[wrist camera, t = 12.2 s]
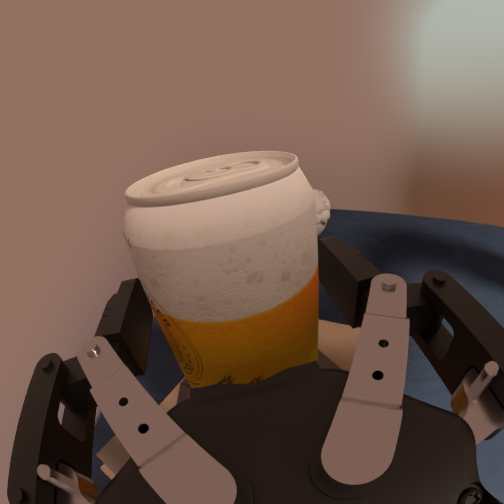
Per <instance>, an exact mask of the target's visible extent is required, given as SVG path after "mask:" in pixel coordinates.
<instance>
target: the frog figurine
mask: <svg viewBox="0 0 504 504" xmlns="http://www.w3.org/2000/svg"><path fill="white" fill-rule="evenodd" d="M313 191H314V194H315V204H316V221H317V236H318V235H320V234H321V233H322V231H323V230H324V228H325V226H326V225H327V219H329V217H330V213H329V212H330V202H329V200H328V199H327V197H326V196H325V195H324V194H323V192H322V191H318V190H316V189H313Z"/></svg>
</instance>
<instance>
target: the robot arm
mask: <svg viewBox="0 0 504 504" xmlns="http://www.w3.org/2000/svg"><path fill="white" fill-rule="evenodd" d="M317 243H318V277H319V280H320V282H321V284H322V285H323V286H324V288H325V289H326V291H327V292H328V294H329V295H330V296H331V298H332V299H333V301H334V302H335V304H336V305H337V307H338V308H339V309H340V311H341V312H342V314H343V315H344V317H345V318H346V320H347V321H348V323H349V324H350V326H351V327H352V329H354V328H357V327H360V326H362V327H361V331H360V335H359V339H358V343H357V347H356V351H355V355H354V358H353V362H352V365H351V369H350V372H349V371H346V370H341V369H334V368H322V369H320V367H319V365H318V363H317V360H316V361H312V362H309V363H306V364H302V365H299V366H295V367H291V368H288V369H285V370H283V371H281V372H279V373H277V374H275V375H273V376H271V377H269V378H267V379H264V380H262V381H260V382H258V383H254V384H216V385H210V386H204V387H197V388H191V389H190V398H189V399H186V400H184V401H182V402H180V403H179V404H177V405H175V406H174V407H173V408H171V409H170V410H169V411H168V412H167V413H165V412H164V410H163V409H162V408H161V407H160V406H159V405H158V404H157V403H156V402H155V400H154V399H153V398H152V397H151V396H150V395H149V394H148V392H147V391H146V390H145V389H144V388H143V386H142V385H141V384H140V383H139V382H138V380H137V379H136V378H135V377H136V376H137V375H145V374H146V365H147V357H148V349H149V342H150V335H151V329H152V322H153V312H152V308H151V305H150V303H149V300H148V298H147V296H146V293H145V291H144V289H143V286H142V284H141V281H140V280H139V279H138V278H135V279H130V280H126V281H122V283H121V285H120V288H119V290H118V293H117V294H114V295H113V296H112V297H111V298H110V300H109V301H108V302H107V304H106V307H105V311H104V312H103V315H102V318H101V320H100V323H99V325H98V328H97V331H96V334H95V337H92V338H90V339H88V340H86V341H85V342H84V343H83V344H82V345H81V346H80V347H79V349H78V352H77V356H76V357H74V358H71V359H68V360H66V361H63V360H62V359H61V358H60V356H59V355H58V354H56V353H50V354H47V355H45V356H44V357H43V358H41V360H40V361H39V362H38V363H37V365H36V367H35V370H34V373H33V376H32V379H31V381H30V384H29V387H28V391H27V394H26V397H25V400H24V404H23V407H22V411H21V415H20V419H19V422H18V427H17V431H16V435H15V440H14V446H13V450H12V456H11V463H10V470H9V478H8V488H7V489H8V490H7V495H8V500H9V503H10V504H503V503H501V502H500V501H499V500H497V499H496V498H495V497H493V496H492V495H491V494H490V493H489V492H488V491H487V490H486V489H485V488H484V487H483V485H482V484H481V482H480V479H479V474H478V469H477V460H476V446H477V445H478V444H479V443H481V442H482V441H483V440H489V439H491V438H493V437H494V436H495V435H496V434H497V433H499V432H500V431H501V430H502V429H503V428H504V328H503V327H502V326H501V325H500V324H499V323H498V322H497V321H496V320H495V319H494V317H493V316H492V315H491V314H490V313H489V312H488V311H487V310H486V309H485V308H484V307H483V306H482V305H481V304H480V303H479V302H478V301H477V300H476V299H475V298H474V297H473V296H472V295H471V294H469V293H468V292H467V291H466V290H465V289H464V288H463V287H462V286H461V285H460V284H459V283H458V282H457V281H456V280H454V279H453V278H452V277H451V276H450V275H449V274H447V273H445V272H442V271H438V270H431V271H428V272H426V273H425V274H424V276H423V281H422V283H413V284H406V282H405V281H404V280H403V279H402V278H401V277H399V276H397V275H394V274H382V273H381V272H380V271H379V270H378V269H377V268H376V267H375V266H374V265H373V264H372V263H371V262H370V261H369V260H367V258H365V257H364V256H363V255H362V254H361V253H360V252H359V251H358V250H357V249H356V248H353V247H351V246H349V245H343V244H342V243H341V242H340V241H338V240H337V239H336V238H335V237H334V236H333V237H328V238H324V239H319V240H318V241H317ZM443 318H445V319H446V320H447V322H448V323H449V324H450V325H451V326H452V328H453V331H454V338H453V336H452V335H451V334H450V333H449V331H448V330H447V329H446V328H445V327H444V325H443V324H442V320H443ZM409 336H412V338H413V339H414V340H415V342H416V343H417V344H418V346H419V347H420V349H421V350H422V352H423V353H424V354H425V356H426V357H427V359H428V360H429V362H430V363H431V364H432V366H433V367H434V369H435V370H436V372H437V373H438V375H439V376H440V378H441V379H442V381H443V382H444V384H445V386H446V387H447V389H448V390H449V392H450V393H451V395H452V397H451V407H452V412H450V411H447V410H444V409H441V408H439V407H436V406H433V405H430V404H428V403H425V402H423V401H420V400H417V399H415V398H412V397H410V396H407V395H405V394H403V392H404V385H405V377H406V367H407V357H408V344H409ZM60 402H61V403H62V404H63V405H64V406H65V409H64V414H63V419H62V425H61V424H60V423H59V420H58V410H59V405H60ZM97 406H98V407H99V408H100V410H101V412H102V413H103V415H104V417H105V418H106V420H107V422H108V423H109V425H110V427H111V428H112V430H113V431H114V433H115V434H116V436H117V437H118V439H119V440H120V442H121V443H122V445H123V446H124V448H125V449H126V450H127V452H128V453H129V455H130V456H131V457H130V458H129V460H128V461H127V462H126V463H125V464H124V466H123V467H122V468H121V469H120V471H119V472H118V473H117V474H116V475H115V477H114V478H113V479H112V480H111V481H110V483H109V484H108V485H107V486H106V487H105V489H104V490H103V491H102V492H101V493H98V490H97V487H96V485H95V483H94V482H93V481H92V480H91V468H92V448H93V435H94V424H95V415H96V407H97Z"/></svg>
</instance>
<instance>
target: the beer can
mask: <svg viewBox="0 0 504 504" xmlns="http://www.w3.org/2000/svg"><path fill="white" fill-rule="evenodd" d="M125 197H126V200H127V206H126V213H125V221H124V229H123V235H124V238H125V241H126V244H127V247H128V250H129V252H130V255H131V258H132V261H133V263H134V266H135V268H136V271H137V274H138V276H139V279H140V281H141V284H142V286H143V289H144V291H145V293H146V296H147V298H148V300H149V303H150V305H151V307H152V310H153V312H154V314H155V316H156V319H157V321H158V323H159V325H160V327H161V329H162V331H163V334H164V336H165V338H166V340H167V342H168V344H169V346H170V348H171V350H172V352H173V354H174V356H175V358H176V360H177V362H178V363H179V365H180V367H181V369H182V371H183V373H184V375H185V376H186V378H187V380H188V382H189V384H190V385H191V387H192V388H197V387H204V386H210V385H216V384H254V383H258V382H260V381H262V380H264V379H267V378H269V377H271V376H273V375H275V374H277V373H279V372H281V371H283V370H285V369H288V368H291V367H295V366H299V365H302V364H306V363H309V362H312V361H316V360H317V361H318V324H319V280H318V243H317V221H316V204H315V194H314V191H313V189H312V188H311V186H310V184H309V183H308V181H307V179H306V177H305V176H304V174H303V172H302V171H301V169H300V167H299V165H298V158H297V156H296V155H294V154H291V153H287V152H280V151H255V152H242V153H234V154H227V155H220V156H215V157H210V158H205V159H200V160H196V161H192V162H189V163H184V164H181V165H177V166H174V167H171V168H168V169H165V170H162V171H159V172H157V173H154V174H152V175H150V176H147V177H145V178H143V179H141V180H139V181H137V182H136V183H134V184H133V185H131V186H130V187H129V188H128V189H127V190H126V191H125Z"/></svg>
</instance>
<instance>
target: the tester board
mask: <svg viewBox="0 0 504 504" xmlns="http://www.w3.org/2000/svg"><path fill="white" fill-rule="evenodd" d="M360 331H361V328H360V327H357V328H354V329H352V327H351V326H349V325H344V324H339V323H334V322H329V321H324V320H320V319H319V324H318V361H317V363H318V365H319V367H320V369H322V368H334V369H341V370H346V371H349V372H350V369H351V365H352V362H353V358H354V355H355V351H356V347H357V343H358V339H359V335H360ZM191 388H192V387H191V385H190V384H189V382H188V380H187V378H186V376H185V377H184V378H183V379H182V380H181V382H180V383H179V384H178V385H177V386H176V387H175V388H174V389H173V390H172V392H171V393H170V394H169V395H168V396H167V397H166V398H165V399H164V400H163V402H162V403H161V404H160V405H159V406H160V407H161V408H162V409H163V410H164V412H165V413H167V412H168V411H169V410H170V409H171V408H173V407H174V406H175V405H177V404H179V403H180V402H182V401H184V400H186V399H189V398H190V389H191ZM96 456H97V457H98V458H99V459H100V460H101V461H102V462H103V463H104V464H103V465H102V466H101V467H100V469H101V470H102V471H103V472H104V473H105V474H106V475H107V476H108V477H109V478H110V479H111V480H112V479H113V478H114V477H115V475H116V474H117V473H118V472H119V471H120V469H121V468H122V467H123V466H124V464H125V463H126V462H127V461H128V460H129V458H130V457H131V456H130V455H129V453H128V452H127V450H126V449H125V448H124V446H123V445H122V443H121V442H120V440H119V439H118V437H117V436H116V435H115V436H114V437H113V438H112V439H111V440H110V441H109V442H108V443H107V444H106V445H105V446H104V447H103V448H102V449H101V450H100V451H99V452H98V453H97V454H96Z"/></svg>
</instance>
